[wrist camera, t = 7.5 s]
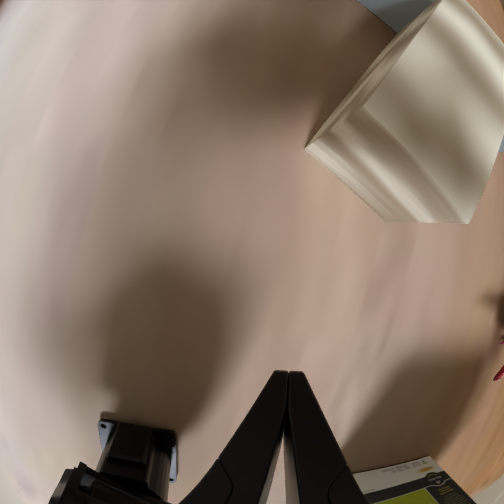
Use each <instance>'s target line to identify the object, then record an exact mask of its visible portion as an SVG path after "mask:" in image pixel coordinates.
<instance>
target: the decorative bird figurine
mask: <svg viewBox="0 0 504 504" xmlns="http://www.w3.org/2000/svg"><path fill="white" fill-rule="evenodd" d="M501 344H504V341H503V342H501ZM503 376H504V366H503V367H502V368H501V369H500V371H499V372H498V373H497V374H496V376H495V377H494V379H493V380H494V381H496V380H498V379H500V378H501V377H503Z"/></svg>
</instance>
